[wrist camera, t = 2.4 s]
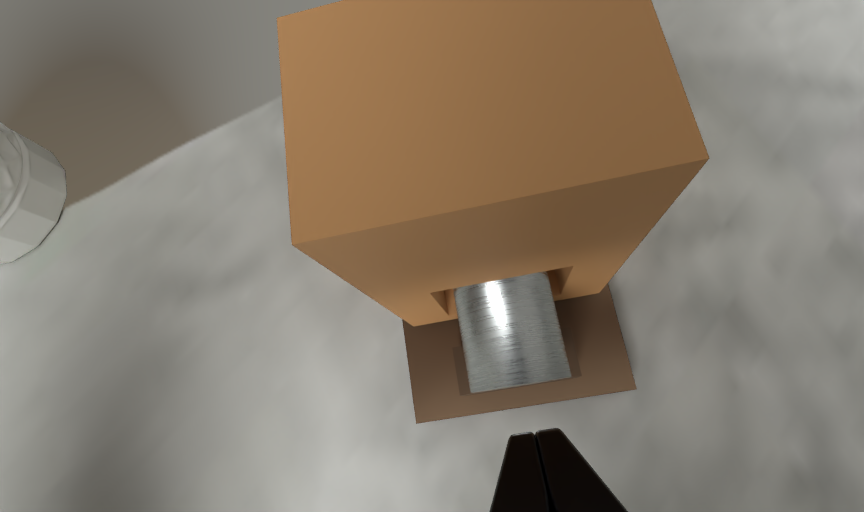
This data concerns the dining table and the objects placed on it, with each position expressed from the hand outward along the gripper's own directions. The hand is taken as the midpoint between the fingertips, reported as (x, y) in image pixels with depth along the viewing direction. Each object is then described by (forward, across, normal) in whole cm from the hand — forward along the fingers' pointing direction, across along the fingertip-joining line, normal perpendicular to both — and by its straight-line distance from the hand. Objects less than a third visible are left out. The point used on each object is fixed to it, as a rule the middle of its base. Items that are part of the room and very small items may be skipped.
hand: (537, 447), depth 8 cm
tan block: (+11, 0, +2) cm, 11 cm away
